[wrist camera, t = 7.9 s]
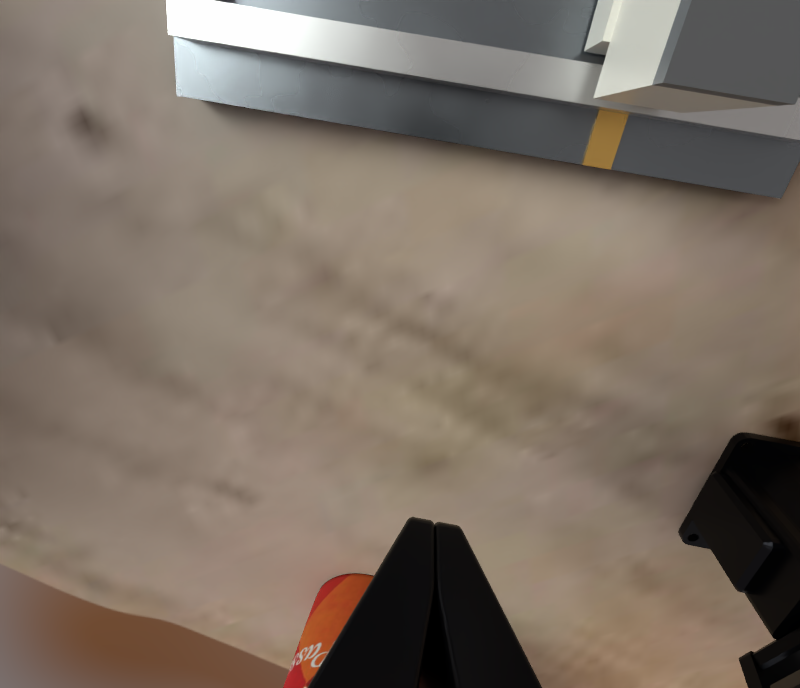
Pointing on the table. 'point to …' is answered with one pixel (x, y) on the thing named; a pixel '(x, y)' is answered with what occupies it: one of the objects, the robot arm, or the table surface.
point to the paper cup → (325, 625)
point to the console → (468, 84)
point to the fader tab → (697, 53)
